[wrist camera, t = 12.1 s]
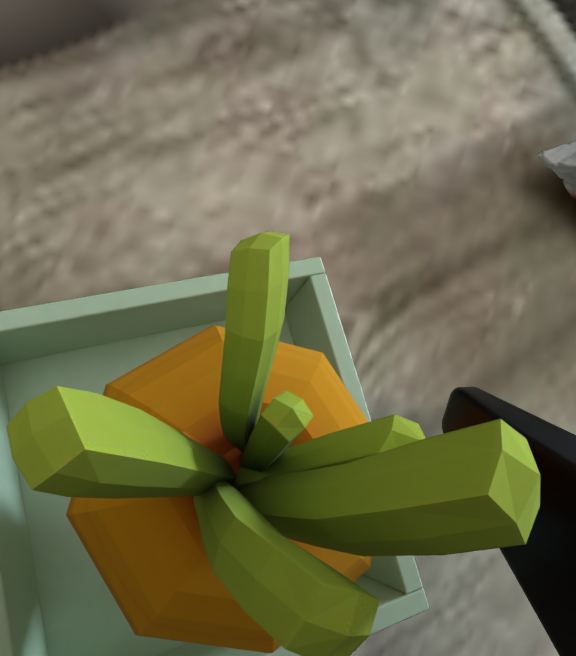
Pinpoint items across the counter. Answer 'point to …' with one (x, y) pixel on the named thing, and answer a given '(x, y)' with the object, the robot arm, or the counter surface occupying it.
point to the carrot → (261, 481)
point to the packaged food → (562, 164)
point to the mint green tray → (92, 375)
